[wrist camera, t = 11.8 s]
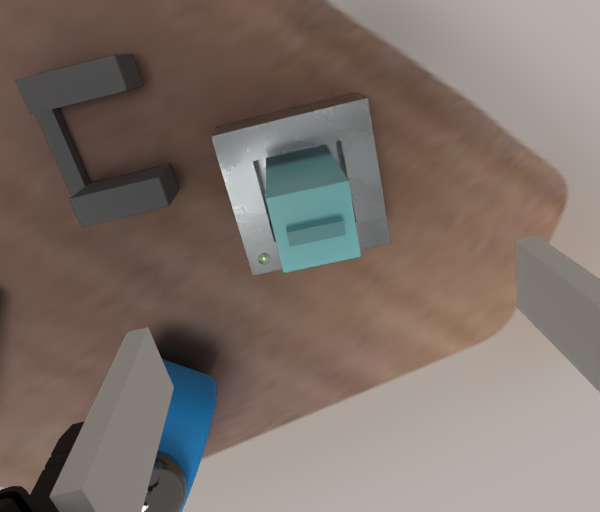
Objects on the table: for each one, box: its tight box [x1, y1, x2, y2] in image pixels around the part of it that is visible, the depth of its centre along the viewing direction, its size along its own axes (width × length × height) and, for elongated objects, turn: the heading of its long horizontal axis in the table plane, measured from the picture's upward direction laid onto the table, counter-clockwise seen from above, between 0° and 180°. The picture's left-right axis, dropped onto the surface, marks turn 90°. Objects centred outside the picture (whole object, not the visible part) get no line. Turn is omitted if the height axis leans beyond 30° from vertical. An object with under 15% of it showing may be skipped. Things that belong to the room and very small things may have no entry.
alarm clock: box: [142, 359, 217, 512], centre depth 35 cm, size 13×6×15 cm, turn 154°
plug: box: [266, 145, 361, 273], centre depth 29 cm, size 4×4×11 cm
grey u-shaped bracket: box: [15, 54, 179, 227], centre depth 31 cm, size 9×7×4 cm
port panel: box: [211, 92, 391, 276], centre depth 33 cm, size 10×10×4 cm
